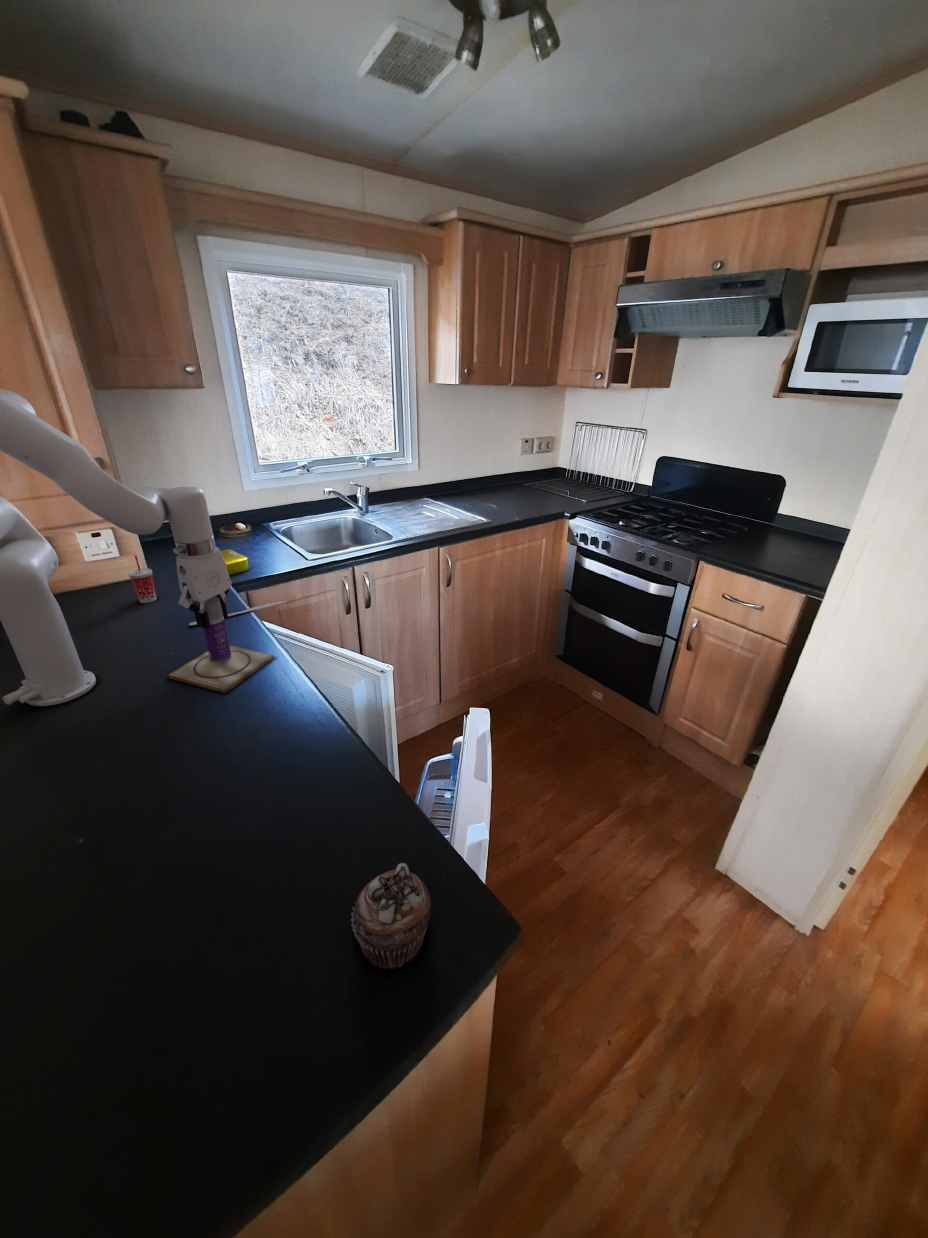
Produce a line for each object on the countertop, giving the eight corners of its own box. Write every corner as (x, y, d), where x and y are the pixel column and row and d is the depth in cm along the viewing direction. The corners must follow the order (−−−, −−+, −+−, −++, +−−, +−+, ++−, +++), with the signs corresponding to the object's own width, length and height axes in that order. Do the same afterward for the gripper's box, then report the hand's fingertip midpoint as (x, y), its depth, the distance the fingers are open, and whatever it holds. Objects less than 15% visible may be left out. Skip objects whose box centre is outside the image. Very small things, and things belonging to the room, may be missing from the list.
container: (223, 664, 119) (211, 605, 112) (205, 661, 119) (192, 603, 113) (235, 654, 123) (224, 597, 116) (218, 651, 124) (206, 595, 117)
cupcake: (402, 886, 70) (399, 835, 65) (446, 941, 63) (446, 888, 59) (339, 931, 64) (332, 878, 60) (381, 996, 58) (376, 942, 53)
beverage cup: (164, 598, 154) (152, 554, 148) (144, 605, 149) (131, 560, 143) (151, 594, 157) (139, 551, 150) (131, 601, 152) (118, 557, 145)
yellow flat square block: (251, 569, 177) (249, 556, 175) (208, 581, 167) (205, 567, 165) (231, 559, 186) (228, 547, 184) (189, 570, 176) (185, 556, 173)
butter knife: (187, 621, 139) (189, 625, 137) (284, 599, 154) (287, 602, 152) (187, 623, 139) (190, 627, 137) (284, 601, 154) (288, 604, 152)
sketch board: (225, 693, 110) (224, 688, 110) (169, 678, 115) (168, 673, 114) (273, 658, 124) (273, 654, 123) (222, 646, 128) (221, 642, 128)
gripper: (176, 561, 100) (196, 641, 109) (238, 537, 115) (252, 610, 123) (148, 556, 103) (170, 635, 111) (212, 533, 117) (227, 605, 125)
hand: (213, 621), depth 117 cm, fingers closed on container, 4 cm apart
